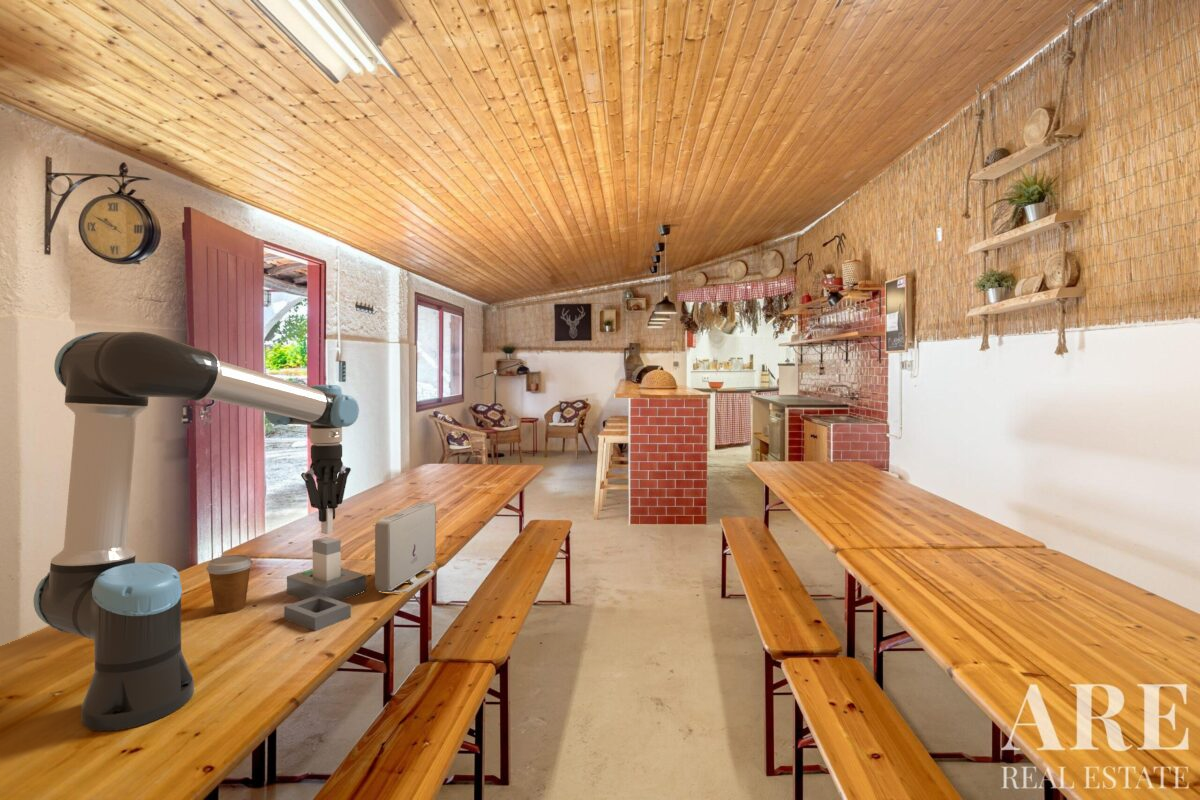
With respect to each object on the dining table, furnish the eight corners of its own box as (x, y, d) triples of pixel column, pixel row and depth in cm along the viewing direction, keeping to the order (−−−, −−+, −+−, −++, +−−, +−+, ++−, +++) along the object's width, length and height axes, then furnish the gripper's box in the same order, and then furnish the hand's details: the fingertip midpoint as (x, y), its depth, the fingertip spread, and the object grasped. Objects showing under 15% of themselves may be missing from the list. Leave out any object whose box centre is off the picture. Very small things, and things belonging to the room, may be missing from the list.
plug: (326, 597, 149) (326, 543, 148) (312, 592, 152) (312, 540, 151) (340, 592, 152) (340, 540, 152) (326, 588, 155) (326, 536, 155)
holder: (315, 631, 129) (315, 617, 129) (284, 618, 135) (284, 606, 135) (350, 617, 137) (350, 604, 137) (319, 606, 143) (319, 594, 143)
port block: (324, 606, 143) (324, 587, 143) (286, 593, 151) (286, 575, 151) (365, 591, 153) (365, 573, 153) (328, 579, 161) (328, 563, 161)
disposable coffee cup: (258, 608, 141) (257, 559, 141) (212, 619, 134) (212, 568, 134) (246, 597, 148) (245, 551, 147) (202, 608, 141) (201, 559, 140)
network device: (395, 600, 148) (396, 523, 147) (365, 597, 149) (365, 520, 149) (442, 568, 173) (443, 502, 172) (415, 566, 174) (416, 500, 174)
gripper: (311, 447, 143) (312, 541, 144) (357, 442, 154) (357, 529, 155) (294, 445, 147) (294, 536, 148) (340, 440, 158) (340, 525, 159)
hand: (327, 532), depth 152 cm, fingers closed
